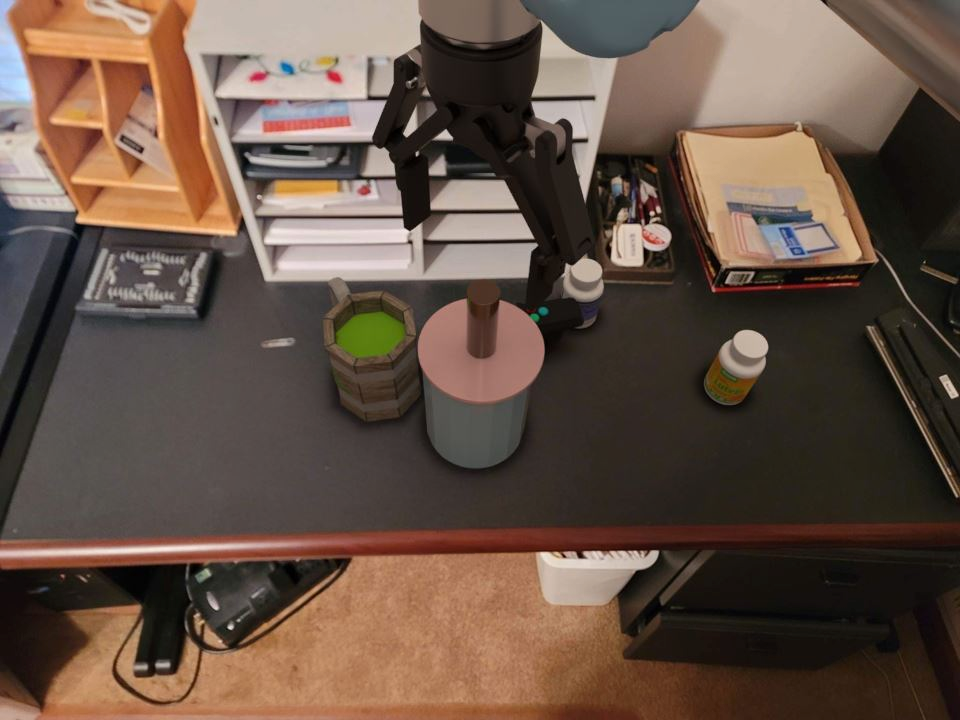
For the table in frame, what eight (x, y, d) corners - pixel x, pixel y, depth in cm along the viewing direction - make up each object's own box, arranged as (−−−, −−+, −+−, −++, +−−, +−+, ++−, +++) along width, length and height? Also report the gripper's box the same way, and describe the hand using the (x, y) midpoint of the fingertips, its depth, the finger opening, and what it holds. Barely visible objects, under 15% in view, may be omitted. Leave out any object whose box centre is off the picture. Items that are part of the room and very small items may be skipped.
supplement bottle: (699, 399, 87) (724, 355, 79) (706, 365, 90) (730, 319, 82) (743, 411, 86) (772, 368, 78) (748, 377, 89) (776, 332, 81)
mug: (438, 397, 86) (436, 340, 76) (360, 437, 83) (346, 383, 73) (379, 311, 94) (370, 249, 84) (305, 345, 90) (286, 285, 80)
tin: (542, 421, 85) (558, 342, 71) (480, 487, 80) (484, 416, 66) (471, 368, 89) (473, 283, 75) (407, 428, 84) (397, 349, 70)
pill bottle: (604, 320, 94) (616, 276, 87) (572, 335, 92) (581, 292, 85) (581, 293, 96) (591, 248, 89) (549, 308, 95) (557, 263, 87)
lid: (557, 322, 73) (569, 259, 64) (523, 423, 66) (532, 367, 58) (443, 291, 74) (441, 226, 66) (399, 386, 68) (390, 326, 60)
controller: (479, 345, 91) (481, 296, 83) (570, 329, 93) (580, 280, 85) (487, 372, 89) (490, 324, 80) (579, 355, 90) (591, 307, 82)
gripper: (692, 72, 39) (621, 309, 57) (379, -71, 48) (401, 172, 66) (618, 135, 36) (566, 366, 53) (296, -31, 45) (342, 213, 62)
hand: (475, 259), depth 60 cm, fingers open, 13 cm apart
